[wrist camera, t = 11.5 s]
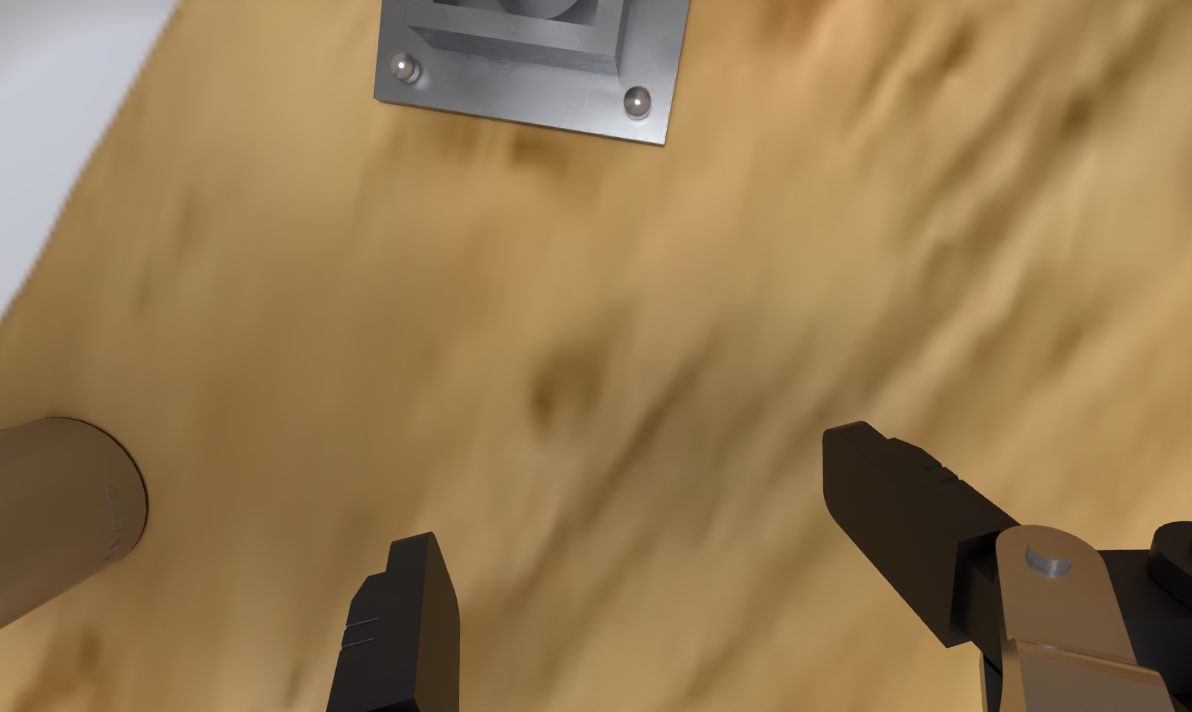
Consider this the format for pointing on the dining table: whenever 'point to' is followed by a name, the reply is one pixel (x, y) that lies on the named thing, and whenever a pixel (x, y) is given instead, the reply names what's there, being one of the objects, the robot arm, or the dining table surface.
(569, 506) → the dining table surface
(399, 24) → the flange fitting
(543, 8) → the white capped cylinder
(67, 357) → the dining table surface
